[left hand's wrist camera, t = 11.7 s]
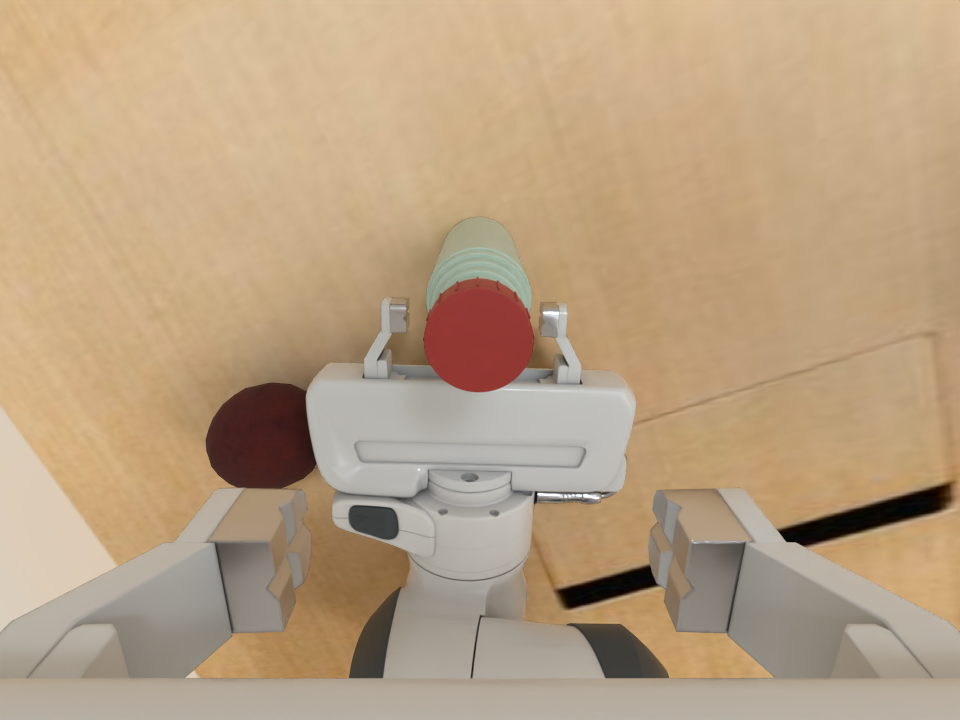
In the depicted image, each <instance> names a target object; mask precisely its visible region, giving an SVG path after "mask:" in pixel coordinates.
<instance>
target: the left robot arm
mask: <svg viewBox="0 0 960 720" xmlns="http://www.w3.org/2000/svg"><path fill="white" fill-rule="evenodd" d="M652 510H653V512H654V514H655V516H656V518H657V520H658V522H657V523H656V524H655V525H654V526H653V527H652V529H651V530H650V535H649V560H650V565H651V569H652V573H653V576H654V578H655V581H656V583H657V584H658V585H660V586H661V587H663V588H664V589H665V590H666V591H665V599H664V603H665V605H666V608H667V610H668V612H669V615H670V617H671V619H672V622H673V624H674V627H675V629H676V631H677V632H703V633H728V635H727V636H729V637H730V638H731V639H732V640H733V641H734V642H735V643H736V644H738V645H739V646H740V647H741V648H742V649H743V650H744V651H746V652H747V653H748V654H749V655H750V656H751V657H752V658H753V659H755V660H756V661H757V662H758V663H759V664H760V665H761V666H762V667H764V668H765V669H766V670H767V671H768V672H769V673H770V674H771V675H773V676H774V677H775V678H185V677H186V676H188V675H189V674H190V673H191V672H192V671H193V670H194V669H196V668H197V667H198V666H199V665H200V664H201V663H202V662H203V661H205V660H206V659H207V658H208V657H209V656H210V655H211V654H212V653H214V652H215V651H216V650H217V649H218V648H219V647H220V646H222V645H223V644H224V643H225V642H226V641H227V640H228V639H229V638H231V637H232V633H256V632H284V629H285V627H286V624H287V622H288V620H289V617H290V615H291V612H292V610H293V608H294V605H295V603H296V599H295V591H294V590H295V589H296V588H297V587H299V586H300V585H302V584H303V583H304V581H305V578H306V575H307V573H308V569H309V564H310V558H311V534H310V530H309V529H308V527H307V526H306V525H305V524H304V523H303V522H302V520H303V518H304V516H305V514H306V512H307V503H306V497H305V493H304V492H303V491H302V489H272V488H248V489H247V488H220V489H217V490H215V491H214V492H213V493H212V494H211V496H210V497H209V498H208V500H207V501H206V502H205V503H204V505H203V506H202V507H201V508H200V510H199V511H198V512H197V513H196V515H195V516H194V517H193V518H192V520H191V521H190V522H189V523H188V525H187V526H186V527H185V529H184V530H183V531H182V532H181V534H180V535H179V536H178V537H177V539H176V540H175V541H174V542H165V543H163V544H161V545H159V546H157V547H155V548H153V549H151V550H149V551H147V552H145V553H143V554H141V555H139V556H137V557H135V558H134V559H132V560H130V561H128V562H126V563H124V564H122V565H120V566H118V567H116V568H114V569H112V570H110V571H108V572H106V573H104V574H102V575H100V576H99V577H97V578H95V579H93V580H91V581H89V582H87V583H85V584H83V585H81V586H79V587H77V588H75V589H73V590H71V591H69V592H67V593H66V594H63V595H62V596H60V597H58V598H56V599H54V600H52V601H50V602H48V603H46V604H44V605H42V606H40V607H38V608H36V609H34V610H32V611H30V612H28V613H27V614H25V615H23V616H21V617H19V618H17V619H15V620H13V621H11V622H10V623H9V624H8V625H7V626H6V627H5V628H4V629H3V630H2V631H1V632H0V720H960V632H959V631H958V630H957V629H956V628H955V627H954V626H953V625H952V624H951V623H950V622H949V621H947V620H945V619H943V618H941V617H939V616H937V615H935V614H933V613H931V612H929V611H927V610H925V609H923V608H921V607H919V606H918V605H916V604H914V603H912V602H910V601H908V600H906V599H904V598H902V597H900V596H898V595H896V594H894V593H892V592H890V591H888V590H887V589H885V588H883V587H881V586H879V585H877V584H875V583H873V582H871V581H869V580H867V579H865V578H863V577H861V576H859V575H857V574H855V573H854V572H852V571H850V570H848V569H846V568H844V567H842V566H840V565H838V564H836V563H834V562H832V561H830V560H828V559H826V558H824V557H823V556H821V555H819V554H817V553H815V552H813V551H811V550H809V549H807V548H805V547H803V546H801V545H799V544H797V543H795V542H786V541H785V540H784V539H783V537H782V536H781V535H780V534H779V532H778V531H777V530H776V529H775V527H774V526H773V525H772V524H771V522H770V521H769V520H768V519H767V517H766V516H765V515H764V514H763V512H762V511H761V510H760V509H759V507H758V506H757V505H756V504H755V502H754V501H753V500H752V499H751V497H750V496H749V495H748V493H747V492H746V491H745V490H743V489H741V488H739V487H738V488H712V489H679V490H657V491H656V494H655V497H654V502H653V509H652Z"/></svg>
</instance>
